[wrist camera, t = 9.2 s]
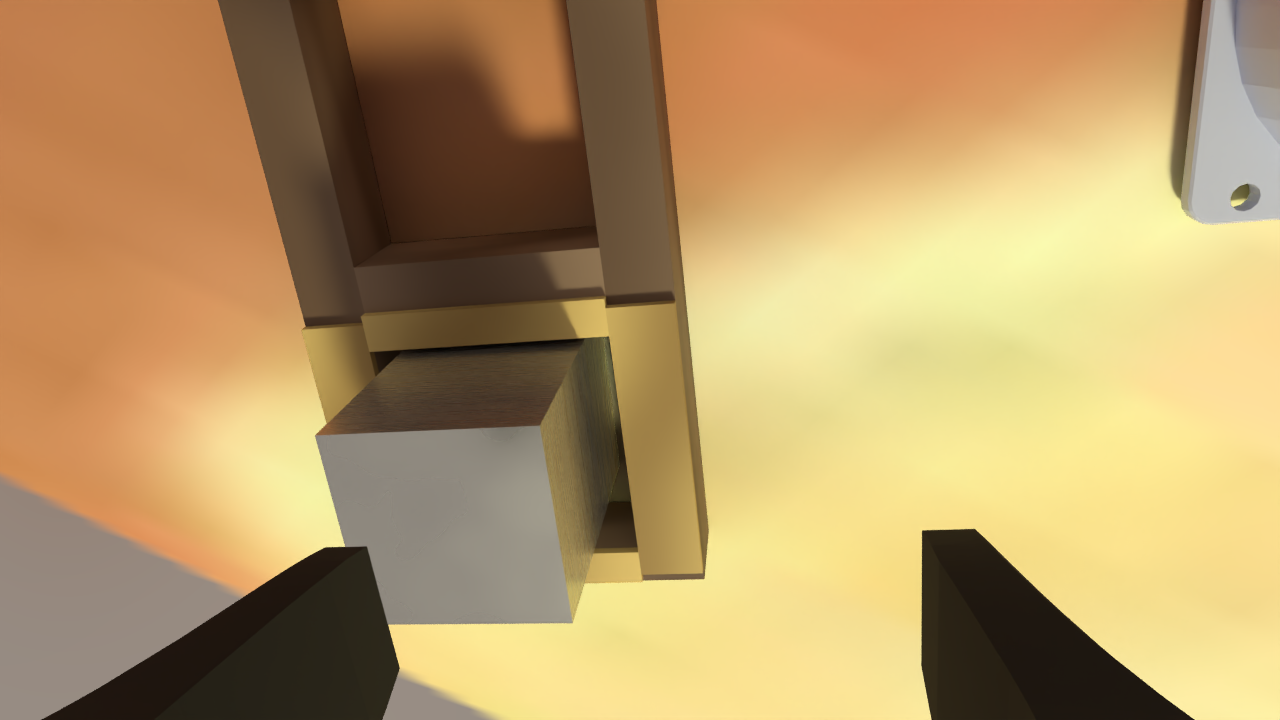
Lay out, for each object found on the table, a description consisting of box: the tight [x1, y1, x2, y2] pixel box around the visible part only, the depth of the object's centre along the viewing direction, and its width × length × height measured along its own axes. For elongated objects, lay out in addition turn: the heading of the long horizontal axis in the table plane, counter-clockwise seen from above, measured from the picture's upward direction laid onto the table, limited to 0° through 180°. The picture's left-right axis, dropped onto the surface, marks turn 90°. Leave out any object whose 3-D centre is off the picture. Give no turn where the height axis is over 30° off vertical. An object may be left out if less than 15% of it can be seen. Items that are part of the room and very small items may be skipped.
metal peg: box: [315, 337, 620, 624], centre depth 18 cm, size 4×4×6 cm
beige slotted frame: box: [218, 0, 709, 583], centre depth 17 cm, size 8×21×2 cm, turn 7°
